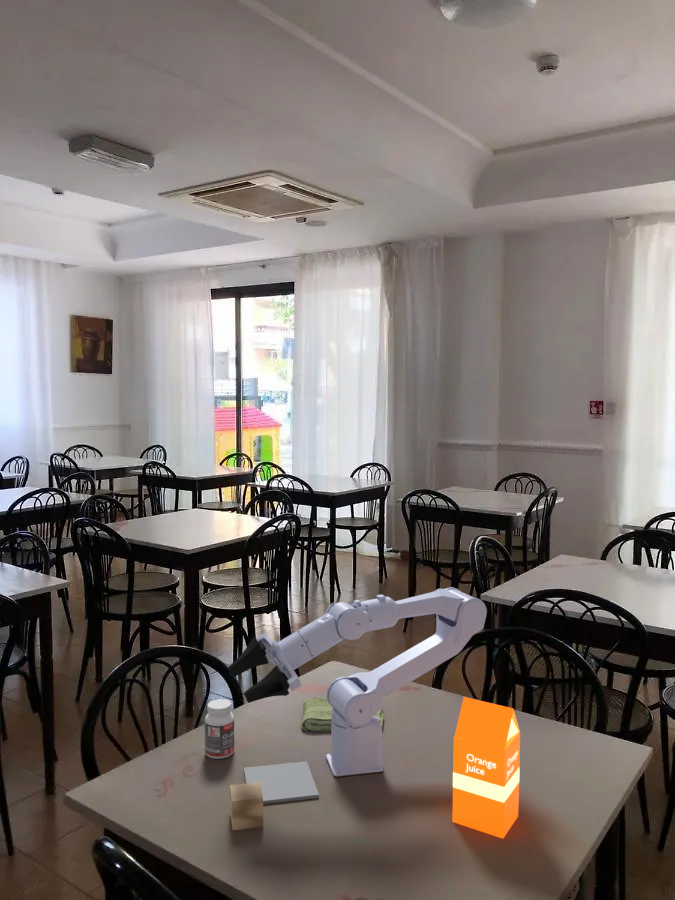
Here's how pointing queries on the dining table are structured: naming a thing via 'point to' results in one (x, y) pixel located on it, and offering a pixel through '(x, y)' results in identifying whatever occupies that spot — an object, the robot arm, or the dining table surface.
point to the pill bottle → (219, 729)
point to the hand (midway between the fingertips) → (237, 685)
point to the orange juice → (486, 767)
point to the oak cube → (246, 806)
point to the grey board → (283, 781)
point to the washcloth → (321, 715)
